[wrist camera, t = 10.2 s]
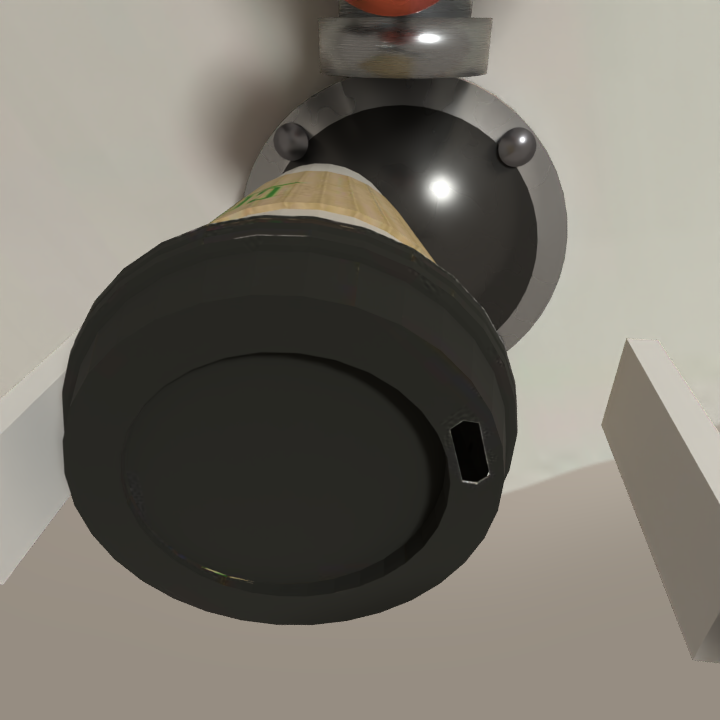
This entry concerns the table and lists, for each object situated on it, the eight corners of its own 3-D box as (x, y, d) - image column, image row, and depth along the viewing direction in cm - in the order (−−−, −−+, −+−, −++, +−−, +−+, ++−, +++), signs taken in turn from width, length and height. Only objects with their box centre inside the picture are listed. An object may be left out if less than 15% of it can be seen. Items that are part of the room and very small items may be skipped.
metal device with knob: (216, -127, 20) (81, -217, 12) (630, -139, 18) (756, -249, 11) (265, 359, 30) (207, 468, 23) (532, 377, 29) (563, 500, 21)
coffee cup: (165, 154, 22) (-99, 339, 9) (410, 79, 21) (504, 173, 8) (255, 361, 27) (165, 671, 14) (457, 311, 26) (562, 601, 13)
